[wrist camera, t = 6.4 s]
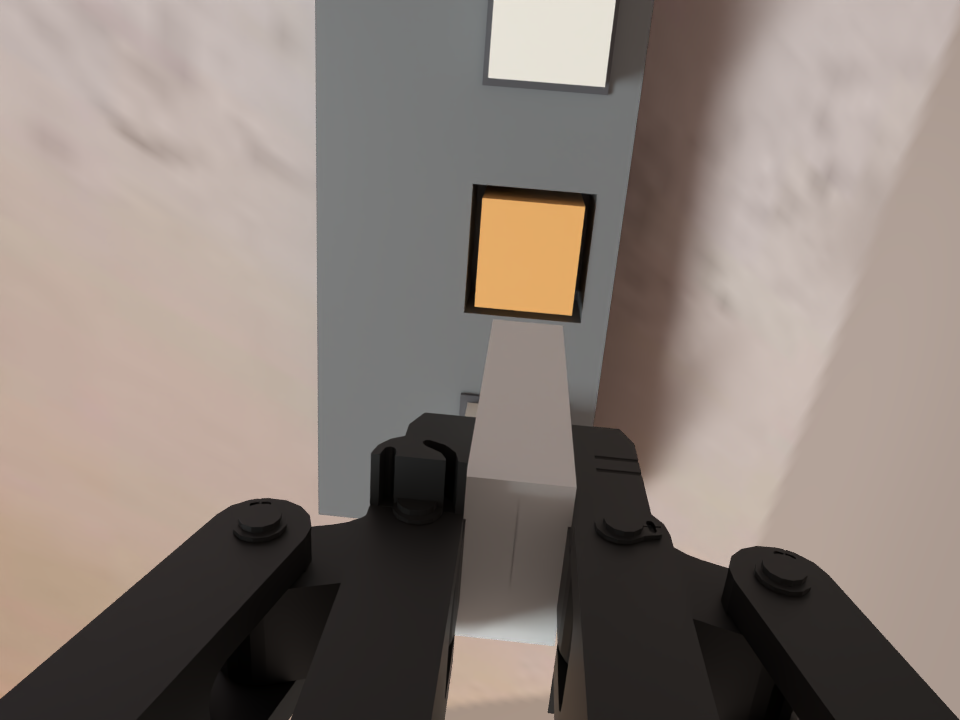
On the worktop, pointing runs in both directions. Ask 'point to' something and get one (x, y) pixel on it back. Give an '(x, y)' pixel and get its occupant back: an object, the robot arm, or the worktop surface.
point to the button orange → (529, 249)
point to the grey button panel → (454, 198)
